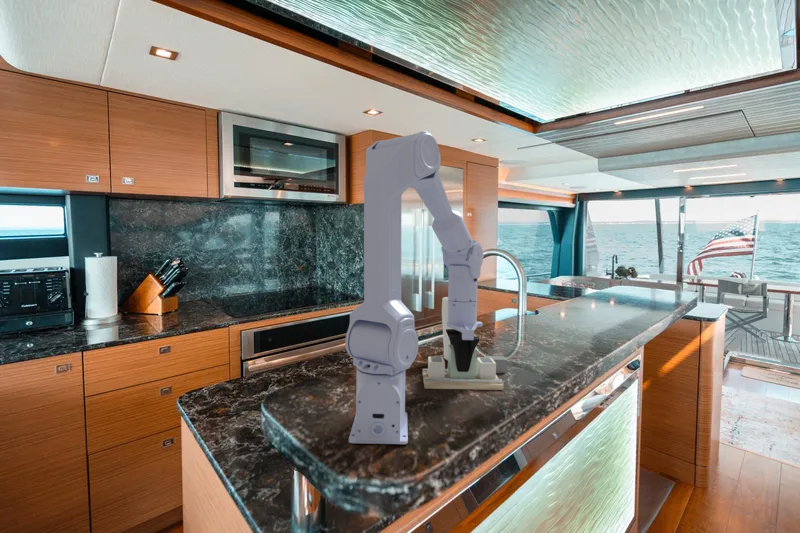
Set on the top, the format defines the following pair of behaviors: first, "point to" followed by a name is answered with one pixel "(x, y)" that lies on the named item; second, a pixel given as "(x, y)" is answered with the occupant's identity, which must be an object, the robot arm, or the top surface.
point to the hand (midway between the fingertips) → (461, 367)
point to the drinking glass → (445, 326)
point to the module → (453, 369)
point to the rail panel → (461, 384)
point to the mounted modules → (483, 370)
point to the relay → (500, 363)
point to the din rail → (460, 379)
